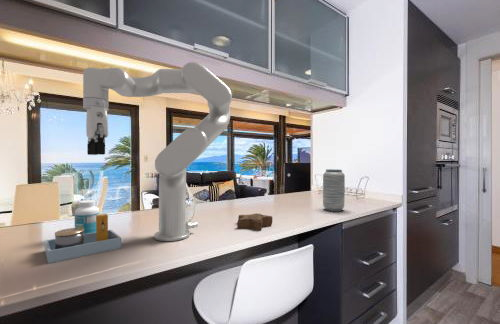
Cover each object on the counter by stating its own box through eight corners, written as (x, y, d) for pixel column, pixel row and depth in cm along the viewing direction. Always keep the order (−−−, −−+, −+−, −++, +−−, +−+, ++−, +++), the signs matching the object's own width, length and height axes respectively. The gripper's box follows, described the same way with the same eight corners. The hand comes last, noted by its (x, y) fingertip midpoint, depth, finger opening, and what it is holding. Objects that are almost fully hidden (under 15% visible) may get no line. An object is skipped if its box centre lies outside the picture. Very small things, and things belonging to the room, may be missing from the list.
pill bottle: (70, 239, 88) (70, 201, 88) (93, 234, 94) (93, 198, 94) (80, 243, 84) (80, 203, 84) (103, 238, 90) (103, 200, 90)
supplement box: (107, 243, 84) (107, 213, 84) (108, 246, 81) (108, 215, 81) (96, 244, 82) (96, 214, 82) (96, 247, 79) (96, 216, 79)
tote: (111, 240, 88) (111, 229, 88) (121, 249, 79) (121, 237, 79) (45, 252, 76) (45, 240, 76) (48, 265, 67) (48, 251, 67)
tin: (82, 246, 80) (82, 226, 80) (86, 252, 75) (86, 231, 75) (53, 251, 76) (53, 230, 75) (56, 258, 70) (56, 236, 70)
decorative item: (278, 217, 106) (250, 217, 97) (276, 231, 106) (248, 233, 97) (255, 211, 119) (228, 211, 110) (254, 224, 118) (227, 225, 110)
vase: (331, 212, 135) (331, 170, 135) (318, 208, 146) (319, 169, 146) (349, 211, 139) (349, 169, 139) (335, 207, 150) (335, 169, 150)
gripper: (115, 103, 84) (115, 154, 84) (101, 110, 96) (101, 155, 96) (89, 99, 79) (88, 154, 79) (78, 107, 91) (78, 154, 91)
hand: (96, 154), depth 88 cm, fingers open, 9 cm apart
